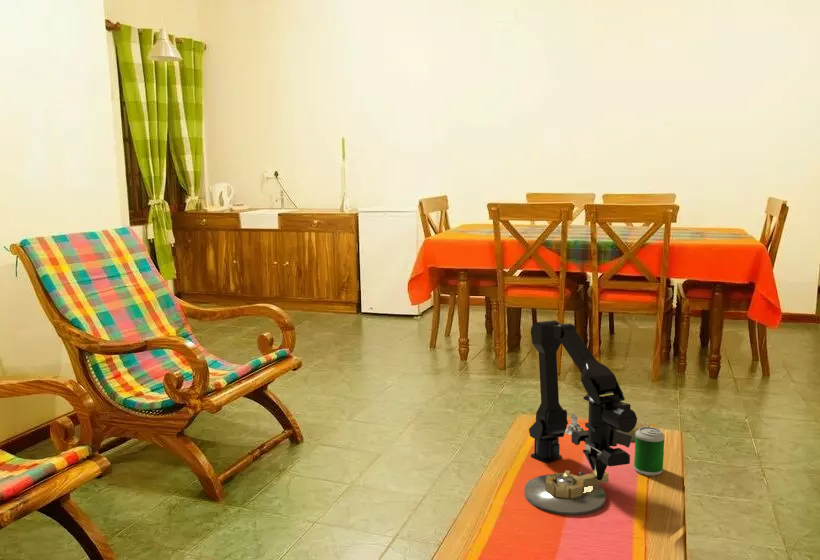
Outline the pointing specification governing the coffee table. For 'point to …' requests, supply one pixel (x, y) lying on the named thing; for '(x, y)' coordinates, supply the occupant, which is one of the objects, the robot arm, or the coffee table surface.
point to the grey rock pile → (573, 425)
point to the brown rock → (637, 428)
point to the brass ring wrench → (576, 488)
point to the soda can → (649, 451)
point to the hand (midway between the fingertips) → (599, 479)
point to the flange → (563, 505)
